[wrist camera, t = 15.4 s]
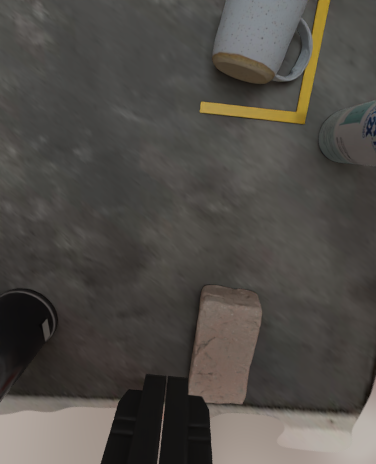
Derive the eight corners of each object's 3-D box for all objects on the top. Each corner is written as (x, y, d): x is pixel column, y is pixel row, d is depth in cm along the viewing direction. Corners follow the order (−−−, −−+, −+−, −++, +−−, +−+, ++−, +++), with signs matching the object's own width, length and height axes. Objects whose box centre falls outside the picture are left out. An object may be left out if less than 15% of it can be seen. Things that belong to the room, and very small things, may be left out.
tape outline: (199, 112, 34) (199, 112, 34) (215, -32, 30) (215, -34, 30) (303, 124, 35) (304, 123, 34) (332, -18, 31) (334, -20, 30)
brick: (200, 283, 41) (201, 300, 36) (258, 290, 41) (266, 307, 36) (187, 376, 45) (186, 402, 41) (239, 382, 46) (244, 408, 41)
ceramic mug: (205, 72, 33) (211, 51, 26) (228, -9, 31) (241, -58, 24) (290, 101, 34) (318, 88, 27) (318, 24, 32) (358, -13, 24)
